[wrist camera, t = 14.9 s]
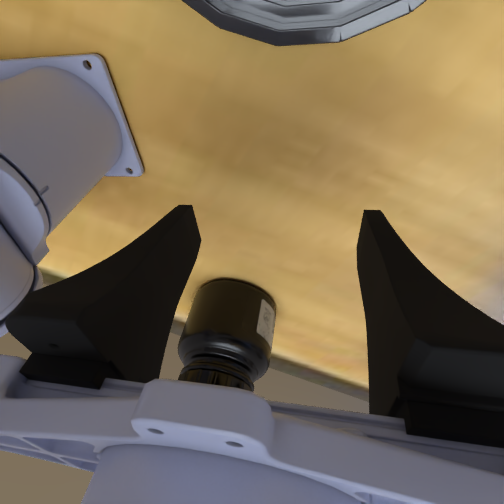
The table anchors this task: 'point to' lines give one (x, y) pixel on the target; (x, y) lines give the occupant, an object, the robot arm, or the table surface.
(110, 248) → the table surface
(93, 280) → the robot arm
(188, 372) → the ink bottle
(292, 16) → the pan
